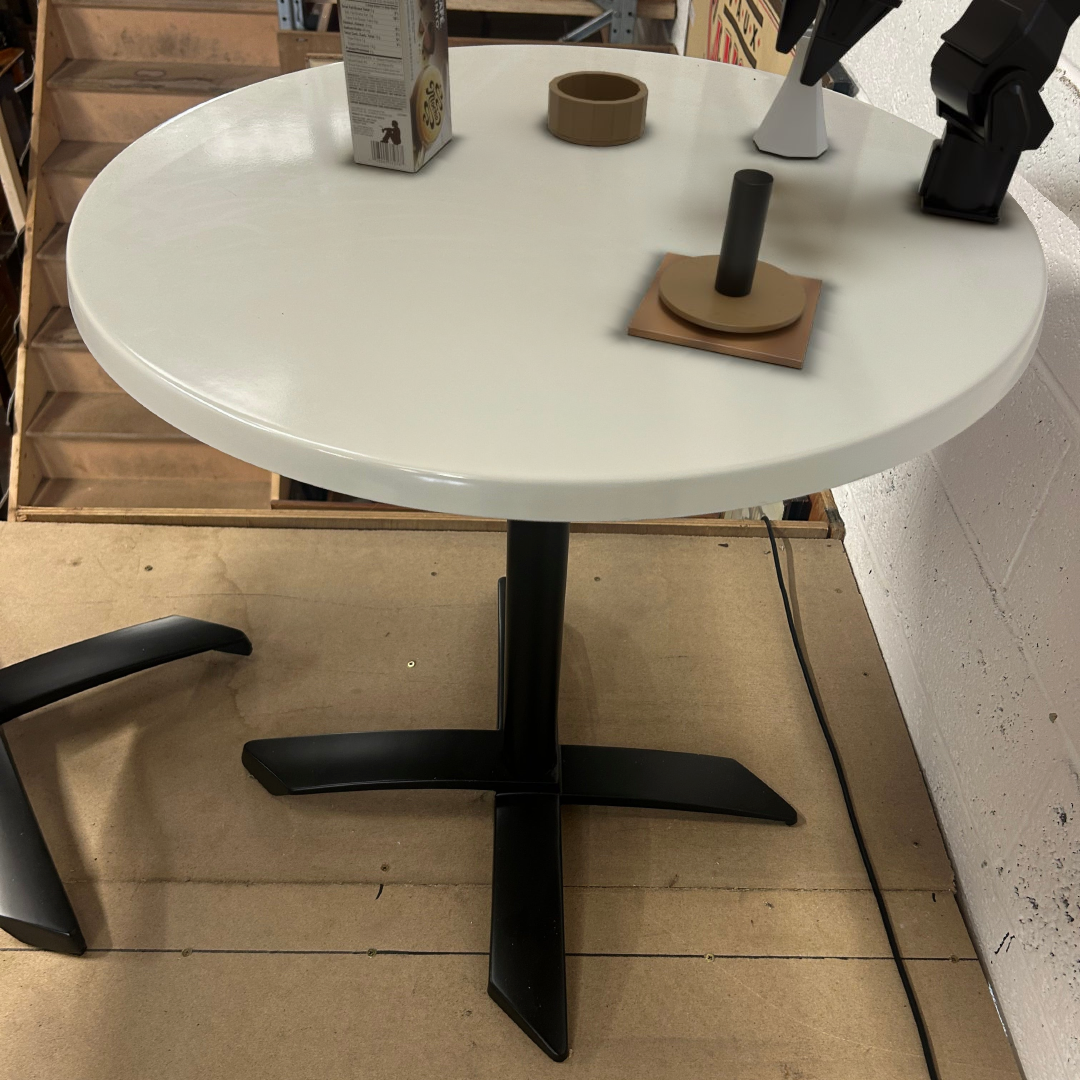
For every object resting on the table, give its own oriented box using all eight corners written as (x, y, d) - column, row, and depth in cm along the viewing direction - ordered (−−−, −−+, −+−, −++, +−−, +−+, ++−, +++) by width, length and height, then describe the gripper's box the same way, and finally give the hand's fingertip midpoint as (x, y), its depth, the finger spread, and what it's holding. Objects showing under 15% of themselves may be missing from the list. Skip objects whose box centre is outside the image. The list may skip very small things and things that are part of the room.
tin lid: (711, 254, 71) (732, 134, 65) (830, 303, 66) (864, 177, 60) (628, 301, 65) (642, 175, 59) (751, 358, 61) (780, 226, 54)
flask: (828, 137, 92) (855, 27, 85) (825, 164, 87) (853, 49, 80) (756, 128, 93) (777, 18, 86) (748, 154, 88) (770, 39, 81)
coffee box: (393, 129, 90) (377, -64, 79) (454, 139, 88) (447, -57, 77) (351, 163, 83) (327, -42, 72) (416, 174, 82) (402, -34, 71)
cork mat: (820, 287, 69) (822, 279, 69) (801, 369, 61) (803, 361, 60) (666, 259, 72) (666, 251, 71) (627, 334, 63) (628, 326, 63)
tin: (653, 119, 94) (657, 78, 91) (629, 152, 87) (633, 109, 85) (564, 105, 96) (566, 65, 93) (534, 137, 89) (535, 95, 87)
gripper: (759, -228, 66) (680, 9, 76) (816, -220, 52) (710, 70, 62) (898, -176, 68) (803, 49, 78) (990, -155, 54) (860, 116, 63)
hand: (792, 67), depth 70 cm, fingers open, 9 cm apart
